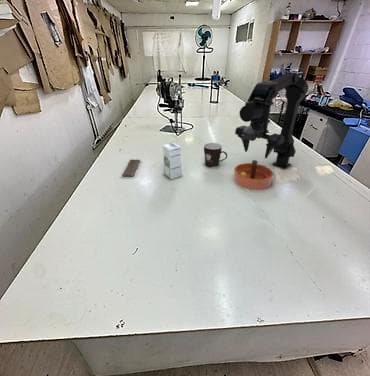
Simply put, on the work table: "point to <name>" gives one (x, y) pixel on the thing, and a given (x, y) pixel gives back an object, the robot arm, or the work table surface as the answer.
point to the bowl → (261, 177)
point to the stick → (253, 169)
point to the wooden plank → (131, 168)
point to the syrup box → (172, 160)
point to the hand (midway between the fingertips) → (255, 154)
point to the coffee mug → (212, 154)
